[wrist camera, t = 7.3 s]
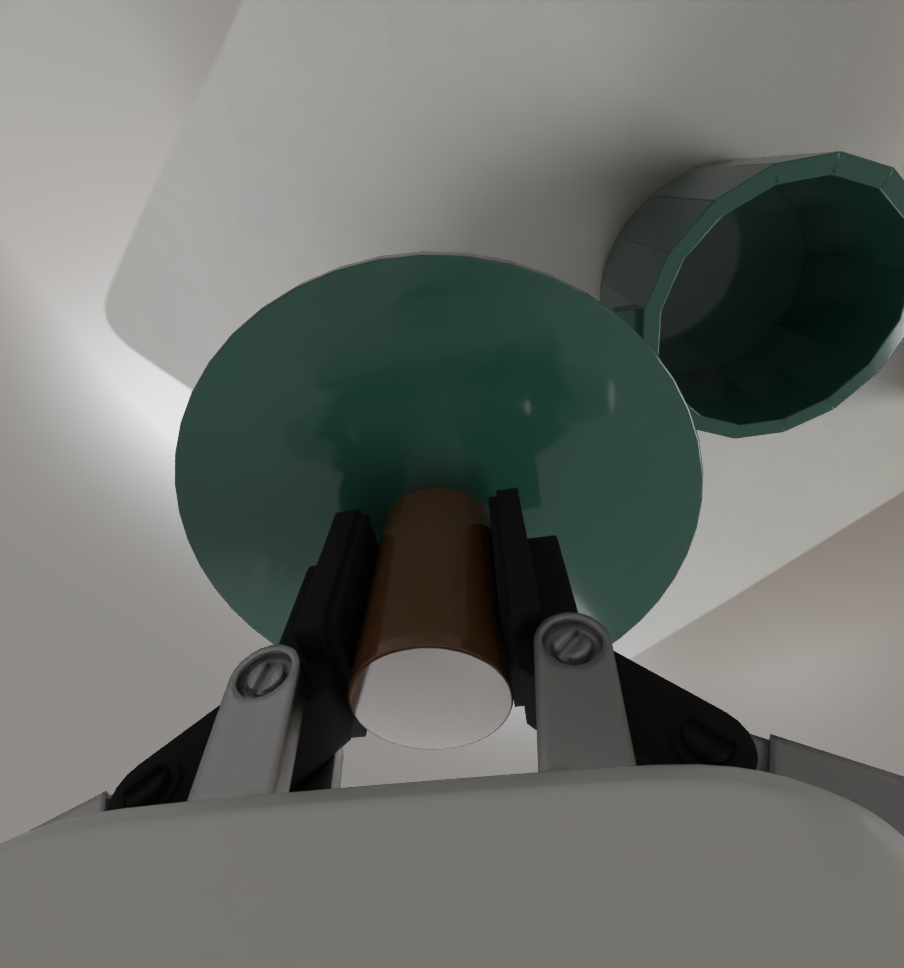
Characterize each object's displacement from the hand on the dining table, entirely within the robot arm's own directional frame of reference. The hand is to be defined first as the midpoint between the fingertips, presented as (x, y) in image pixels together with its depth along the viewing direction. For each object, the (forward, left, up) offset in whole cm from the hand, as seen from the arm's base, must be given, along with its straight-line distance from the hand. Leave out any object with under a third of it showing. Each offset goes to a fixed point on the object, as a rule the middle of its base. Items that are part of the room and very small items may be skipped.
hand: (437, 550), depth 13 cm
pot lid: (0, 0, -1) cm, 1 cm away
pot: (0, +16, -23) cm, 28 cm away
